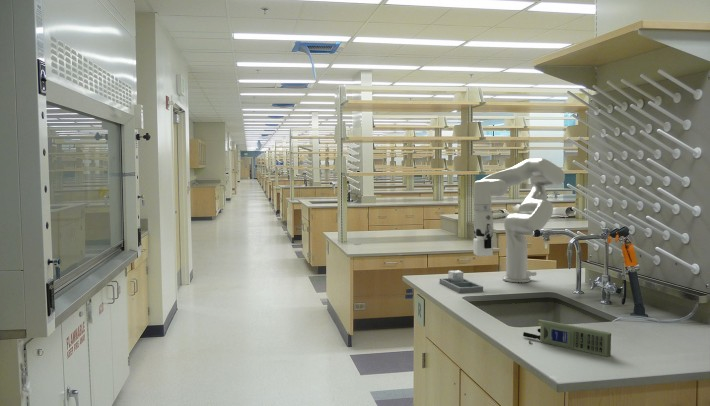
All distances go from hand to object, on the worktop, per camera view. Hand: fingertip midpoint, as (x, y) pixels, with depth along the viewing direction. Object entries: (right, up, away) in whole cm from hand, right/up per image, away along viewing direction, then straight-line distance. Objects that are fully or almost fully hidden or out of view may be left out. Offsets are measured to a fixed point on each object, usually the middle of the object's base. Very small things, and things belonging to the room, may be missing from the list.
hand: (483, 246), depth 234 cm
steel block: (-12, -17, +2) cm, 21 cm away
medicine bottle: (0, -4, 0) cm, 4 cm away
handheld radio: (+4, -23, -81) cm, 84 cm away
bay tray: (-11, -18, -3) cm, 21 cm away
